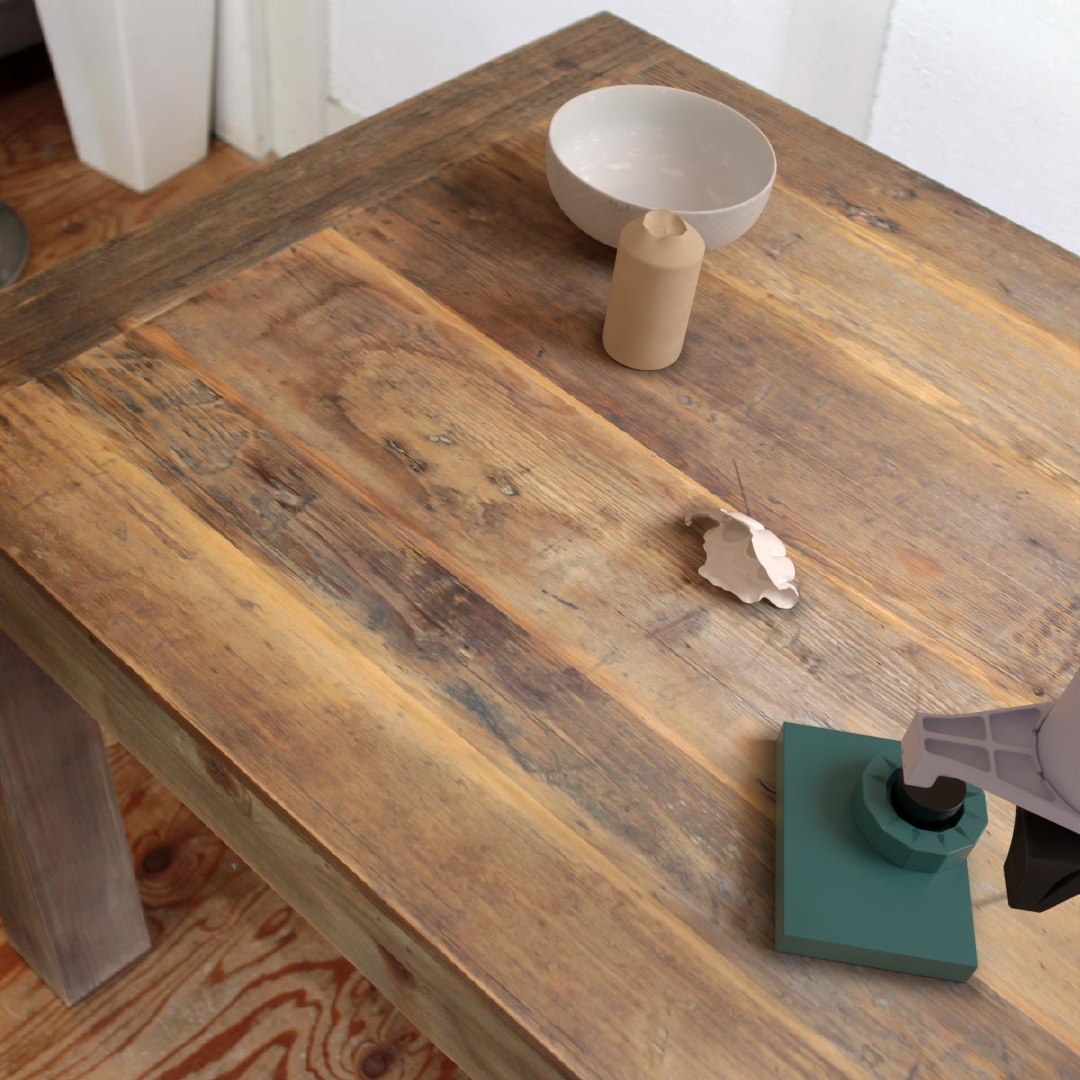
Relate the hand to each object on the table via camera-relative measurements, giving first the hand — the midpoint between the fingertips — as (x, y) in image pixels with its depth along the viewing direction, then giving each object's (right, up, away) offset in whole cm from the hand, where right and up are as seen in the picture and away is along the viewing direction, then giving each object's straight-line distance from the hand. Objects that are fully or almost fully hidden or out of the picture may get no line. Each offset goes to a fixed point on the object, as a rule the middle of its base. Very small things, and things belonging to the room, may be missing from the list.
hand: (1022, 888), depth 55 cm
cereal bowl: (-12, +38, +47) cm, 61 cm away
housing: (-4, -1, +11) cm, 12 cm away
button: (-1, +2, +10) cm, 10 cm away
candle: (-13, +28, +37) cm, 48 cm away
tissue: (-8, +13, +24) cm, 28 cm away
